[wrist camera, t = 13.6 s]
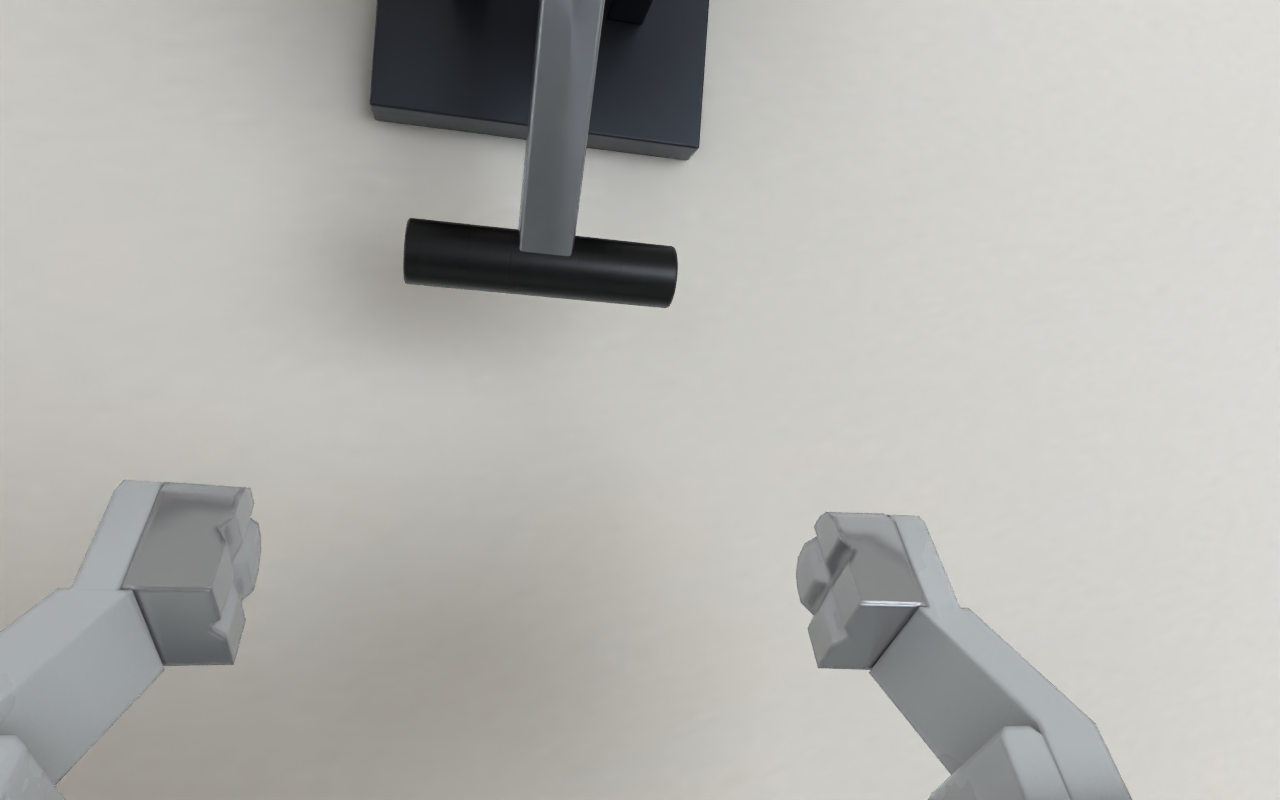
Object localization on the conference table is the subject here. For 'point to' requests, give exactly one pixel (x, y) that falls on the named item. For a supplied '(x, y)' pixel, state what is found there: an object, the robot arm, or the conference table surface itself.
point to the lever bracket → (503, 67)
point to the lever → (548, 196)
